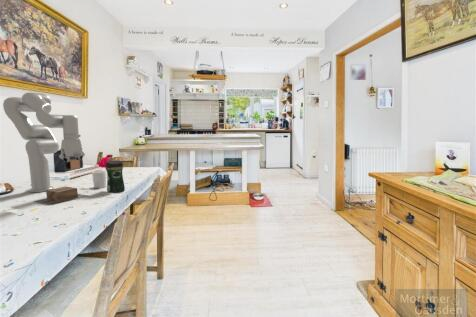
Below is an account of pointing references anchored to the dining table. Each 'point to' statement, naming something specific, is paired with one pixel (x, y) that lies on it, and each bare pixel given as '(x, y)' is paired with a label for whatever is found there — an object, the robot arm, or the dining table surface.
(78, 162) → the terracotta cube
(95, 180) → the white cup
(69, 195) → the walnut base block
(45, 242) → the dining table surface
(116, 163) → the coffee jar
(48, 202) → the charcoal board
